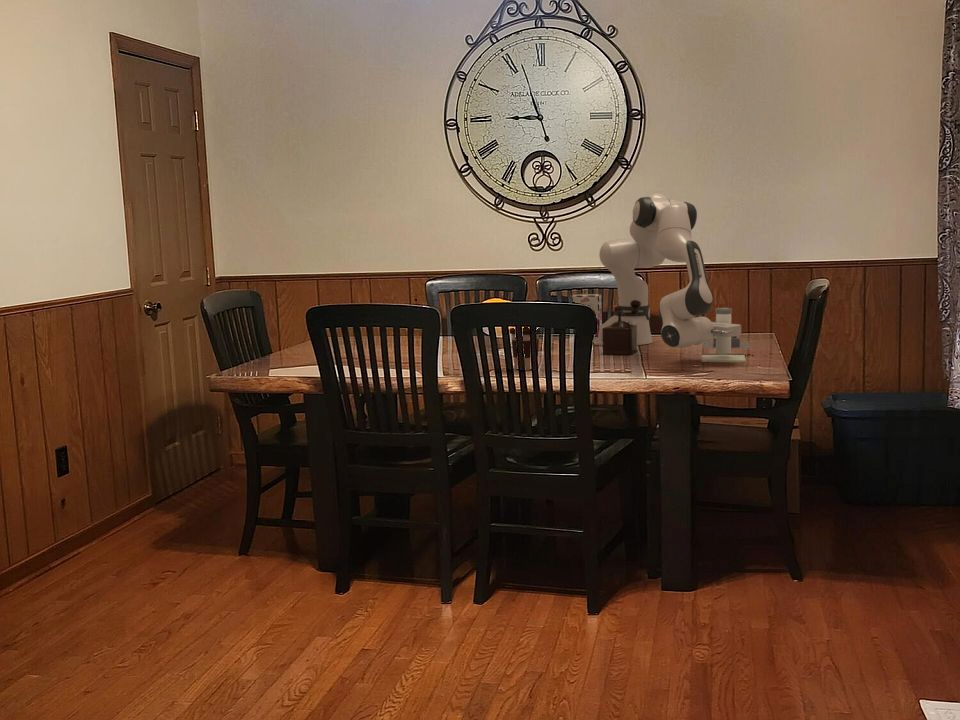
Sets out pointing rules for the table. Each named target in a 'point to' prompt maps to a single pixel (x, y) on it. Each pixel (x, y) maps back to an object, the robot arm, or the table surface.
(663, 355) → the table surface
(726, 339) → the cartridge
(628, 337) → the pepper mill
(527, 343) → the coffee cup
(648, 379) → the table surface
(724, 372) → the table surface
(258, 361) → the table surface
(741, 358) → the pad
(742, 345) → the housing
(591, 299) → the candy bar box
